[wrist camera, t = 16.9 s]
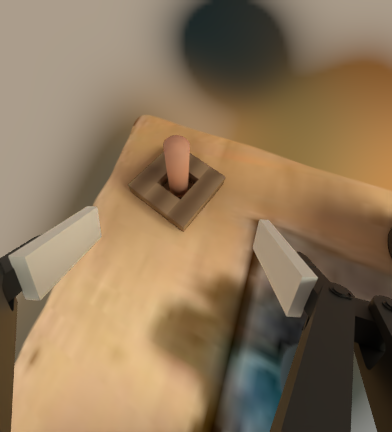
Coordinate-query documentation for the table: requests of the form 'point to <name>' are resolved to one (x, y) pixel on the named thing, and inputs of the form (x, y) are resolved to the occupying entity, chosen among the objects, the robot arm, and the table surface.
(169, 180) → the pin
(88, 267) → the table surface
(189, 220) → the socket block
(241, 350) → the table surface
